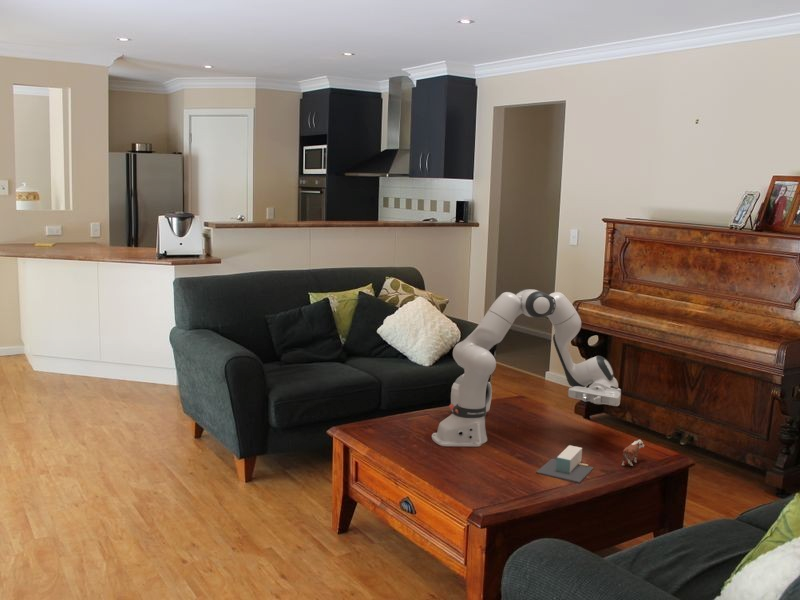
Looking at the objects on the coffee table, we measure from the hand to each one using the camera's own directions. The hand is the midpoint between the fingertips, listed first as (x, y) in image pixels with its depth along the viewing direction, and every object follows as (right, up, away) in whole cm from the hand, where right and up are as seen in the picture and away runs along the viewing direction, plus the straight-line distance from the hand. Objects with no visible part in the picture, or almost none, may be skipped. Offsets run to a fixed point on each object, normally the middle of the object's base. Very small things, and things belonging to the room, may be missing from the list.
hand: (588, 400), depth 299 cm
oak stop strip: (-9, -23, -10) cm, 26 cm away
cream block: (-7, -19, -8) cm, 22 cm away
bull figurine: (+15, -23, -6) cm, 28 cm away
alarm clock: (-42, -13, +45) cm, 63 cm away
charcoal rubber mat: (-13, -24, -17) cm, 32 cm away
